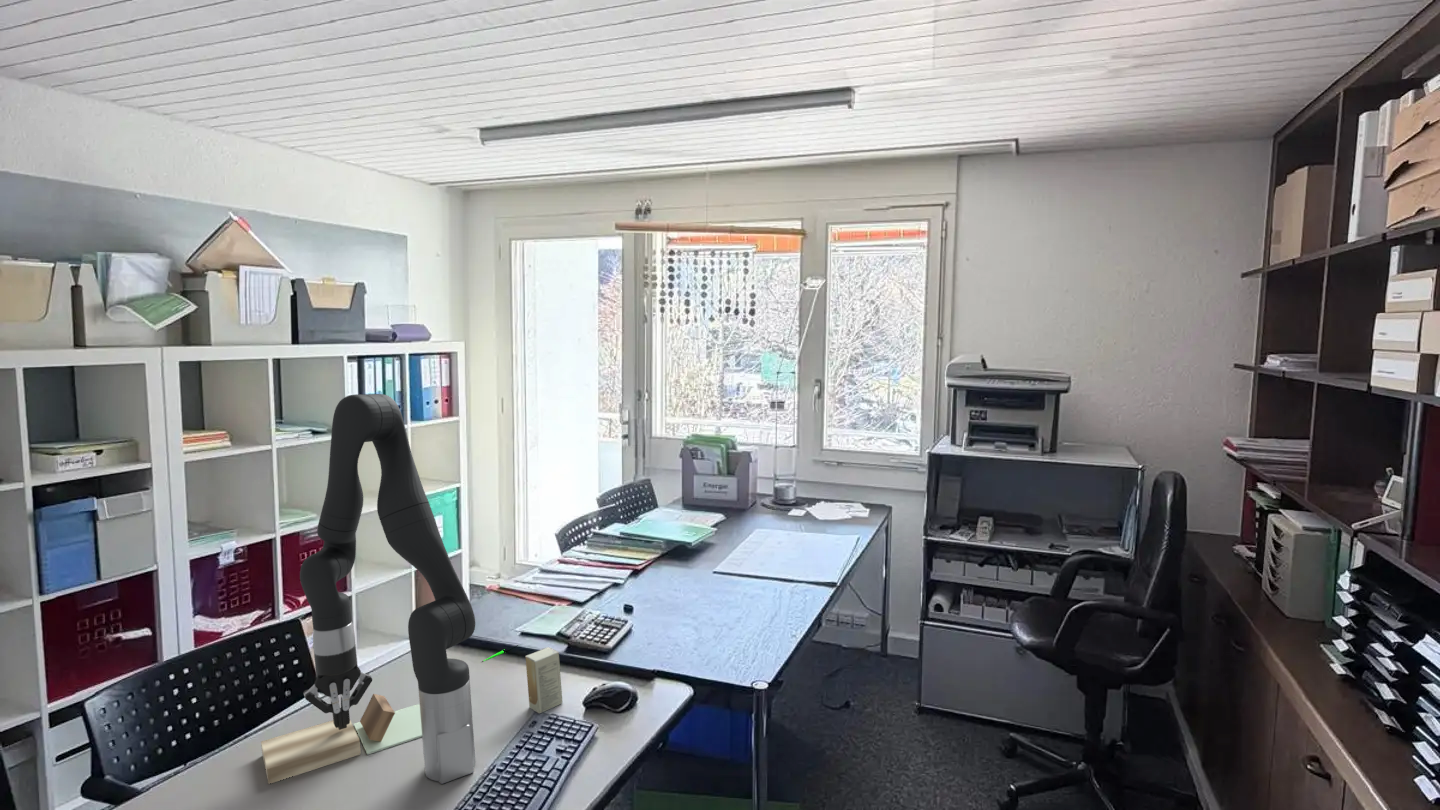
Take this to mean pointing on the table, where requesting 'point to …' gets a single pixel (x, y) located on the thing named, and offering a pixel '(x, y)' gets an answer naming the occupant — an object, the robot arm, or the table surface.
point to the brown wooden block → (377, 717)
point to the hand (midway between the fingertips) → (342, 727)
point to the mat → (394, 730)
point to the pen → (495, 655)
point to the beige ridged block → (308, 750)
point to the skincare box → (544, 679)
